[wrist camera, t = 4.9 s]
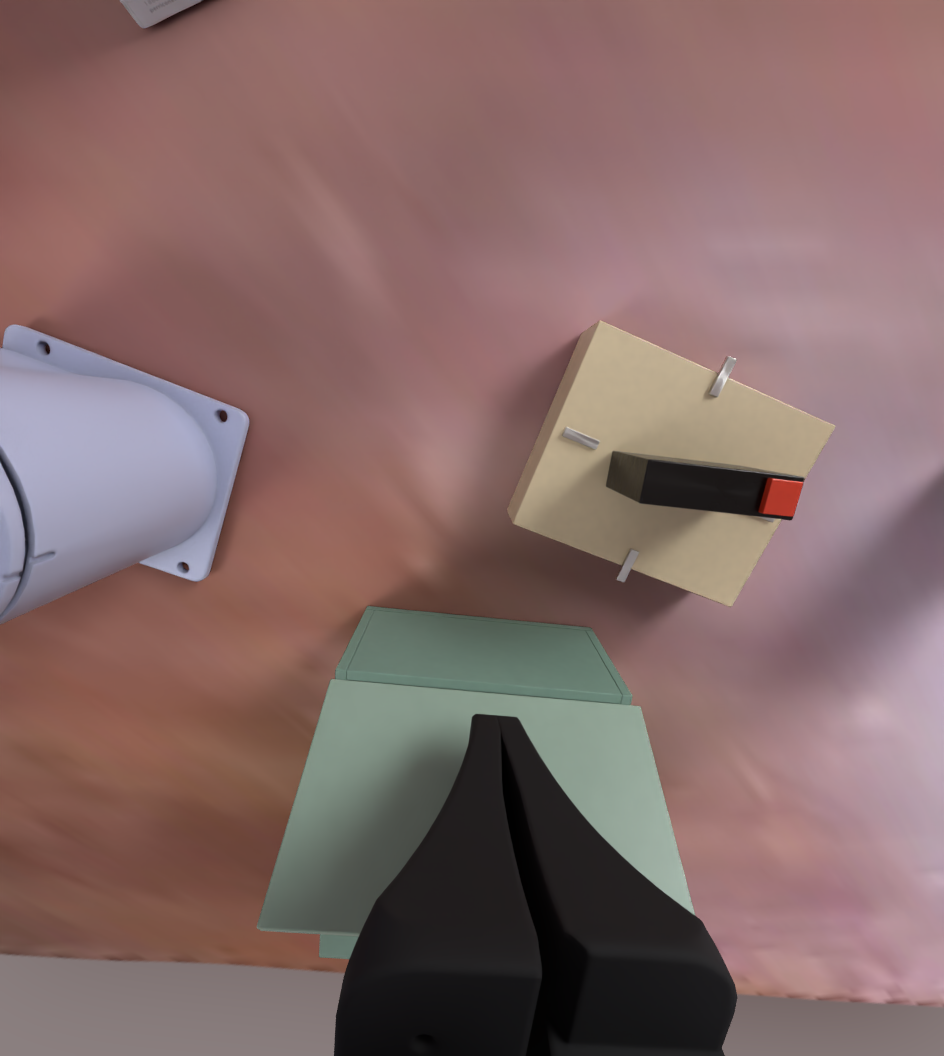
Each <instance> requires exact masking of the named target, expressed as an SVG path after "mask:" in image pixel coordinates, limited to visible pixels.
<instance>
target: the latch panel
mask: <svg viewBox="0 0 944 1056" xmlns="http://www.w3.org/2000/svg"><path fill="white" fill-rule="evenodd" d="M736 361H737V360H736V359H734V358H732V357H729V356H727V357H726V358H725V360H724V362H723V364H722V366H721V368H720V370H719V372H718V373H716V372H714V371H712V370H710V369H708V368H705V367H703V366H701V365H699V364H696V363H694V362H692V361H690V360H687V359H685V358H683V357H681V356H679V355H676V354H674V353H672V352H670V351H667V350H665V349H663V348H661V347H658V346H656V345H654V344H652V343H650V342H647V341H645V340H643V339H641V338H638V337H636V336H634V335H632V334H630V333H627V332H625V331H623V330H621V329H618V328H616V327H614V326H612V325H609V324H607V323H605V322H603V321H598V322H597V323H595V324H594V325H593V326H591V327H590V328H588V329H587V330H585V331H584V332H583V333H581V335H580V338H579V340H578V342H577V345H576V347H575V350H574V352H573V354H572V357H571V359H570V361H569V364H568V366H567V369H566V371H565V373H564V376H563V378H562V380H561V383H560V385H559V388H558V390H557V392H556V395H555V397H554V399H553V402H552V404H551V406H550V409H549V411H548V414H547V416H546V418H545V421H544V423H543V425H542V428H541V430H540V433H539V435H538V437H537V440H536V442H535V444H534V447H533V449H532V452H531V454H530V456H529V459H528V461H527V463H526V466H525V468H524V471H523V473H522V475H521V478H520V480H519V482H518V485H517V487H516V489H515V492H514V494H513V497H512V499H511V501H510V504H509V506H508V508H507V512H508V514H509V516H510V519H511V521H512V523H513V524H514V525H517V526H520V527H522V528H525V529H528V530H530V531H533V532H535V533H538V534H541V535H543V536H546V537H548V538H551V539H554V540H556V541H559V542H561V543H564V544H567V545H569V546H572V547H575V548H577V549H580V550H582V551H585V552H588V553H590V554H593V555H595V556H598V557H601V558H603V559H606V560H608V561H611V562H614V563H616V564H619V565H622V566H621V568H620V570H619V572H618V574H617V576H616V578H615V579H616V580H618V581H620V582H623V583H624V582H625V580H626V578H627V576H628V574H629V572H630V570H631V569H632V570H635V571H637V572H640V573H642V574H645V575H648V576H650V577H653V578H655V579H658V580H661V581H663V582H666V583H669V584H671V585H674V586H676V587H679V588H682V589H684V590H687V591H689V592H692V593H695V594H697V595H700V596H702V597H705V598H708V599H710V600H713V601H716V602H718V603H721V604H723V605H726V606H729V607H732V605H733V603H734V601H735V600H736V598H737V596H738V595H739V593H740V591H741V589H742V588H743V586H744V584H745V582H746V581H747V579H748V577H749V575H750V574H751V572H752V570H753V569H754V567H755V565H756V563H757V562H758V560H759V558H760V556H761V555H762V553H763V551H764V549H765V548H766V546H767V544H768V543H769V541H770V539H771V537H772V536H773V534H774V532H775V530H776V529H777V527H778V525H779V523H780V522H781V520H782V519H775V518H766V517H757V516H747V515H738V514H729V513H720V512H711V511H702V510H693V509H684V508H675V507H666V506H657V505H648V504H640V503H638V502H636V501H634V500H632V499H630V498H628V497H626V496H624V495H622V494H620V493H618V492H616V491H614V490H612V489H610V488H607V487H606V482H607V477H608V471H609V466H610V461H611V456H612V452H613V451H620V452H629V453H638V454H646V455H655V456H663V457H672V458H680V459H689V460H698V461H706V462H715V463H723V464H732V465H740V466H745V467H751V468H757V469H762V470H768V471H774V472H779V473H785V474H791V475H796V476H802V477H804V480H805V478H806V477H807V475H808V473H809V471H810V470H811V468H812V466H813V465H814V463H815V461H816V459H817V458H818V456H819V454H820V452H821V451H822V449H823V447H824V445H825V444H826V442H827V440H828V439H829V437H830V435H831V433H832V432H833V430H834V428H835V426H834V425H832V424H830V423H828V422H826V421H823V420H821V419H819V418H817V417H814V416H812V415H810V414H808V413H806V412H803V411H801V410H799V409H797V408H794V407H792V406H790V405H788V404H786V403H783V402H781V401H779V400H777V399H774V398H772V397H770V396H768V395H765V394H763V393H761V392H759V391H757V390H754V389H752V388H750V387H748V386H745V385H743V384H741V383H739V382H736V381H734V380H732V379H730V378H728V377H729V375H730V373H731V371H732V369H733V367H734V365H735V363H736Z"/></svg>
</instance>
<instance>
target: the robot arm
mask: <svg viewBox="0 0 944 1056" xmlns="http://www.w3.org/2000/svg"><path fill="white" fill-rule="evenodd" d="M47 344H48V345H49V347H50V353H49V354H48V353H47V352H46V348H45V347H46V345H47ZM222 410H224V411H225V412H226V414H227V420H226V422H223V421H222V420H221V419H220V412H221V411H222ZM248 428H249V418H248V415H247V414H246V413H245V412H244V411H242V410H241V409H239V408H236V407H233V406H231V405H228V404H226V403H223V402H220V401H218V400H215V399H213V398H210V397H207V396H205V395H202V394H200V393H197V392H194V391H192V390H189V389H187V388H184V387H181V386H179V385H176V384H174V383H171V382H168V381H166V380H163V379H161V378H158V377H156V376H153V375H150V374H148V373H145V372H143V371H140V370H137V369H135V368H132V367H130V366H127V365H124V364H122V363H119V362H117V361H114V360H111V359H109V358H106V357H104V356H101V355H98V354H96V353H93V352H91V351H88V350H85V349H83V348H80V347H78V346H75V345H73V344H70V343H67V342H65V341H62V340H60V339H57V338H54V337H52V336H49V335H47V334H44V333H41V332H39V331H36V330H34V329H31V328H28V327H25V326H20V325H15V324H14V325H10V326H8V327H7V328H6V330H5V333H4V339H3V347H2V348H0V625H1V624H3V623H5V622H7V621H9V620H12V619H14V618H16V617H18V616H20V615H23V614H25V613H27V612H29V611H32V610H34V609H36V608H38V607H40V606H43V605H45V604H47V603H49V602H52V601H54V600H56V599H58V598H60V597H63V596H65V595H67V594H69V593H72V592H74V591H76V590H78V589H80V588H83V587H85V586H87V585H89V584H92V583H94V582H96V581H98V580H100V579H103V578H105V577H107V576H109V575H112V574H114V573H116V572H118V571H120V570H123V569H125V568H127V567H129V566H132V565H134V564H136V563H141V564H144V565H147V566H150V567H153V568H156V569H159V570H162V571H164V572H167V573H170V574H173V575H176V576H179V577H182V578H185V579H188V580H191V581H196V582H197V581H201V580H203V579H205V578H206V577H207V576H208V575H209V573H210V570H211V566H212V562H213V559H214V555H215V551H216V547H217V544H218V540H219V536H220V532H221V529H222V525H223V521H224V517H225V514H226V510H227V506H228V502H229V499H230V495H231V491H232V488H233V484H234V480H235V476H236V473H237V469H238V465H239V461H240V458H241V454H242V450H243V446H244V443H245V439H246V435H247V431H248ZM183 562H185V563H186V564H188V566H189V570H186V569H185V568H184V567H183V564H182V563H183ZM736 1001H737V993H736V988H735V984H734V982H733V980H732V978H731V975H730V973H729V971H728V969H727V967H726V965H725V963H724V961H723V959H722V957H721V955H720V953H719V951H718V949H717V947H716V945H715V943H714V942H713V940H712V938H711V937H710V935H709V933H708V931H707V930H706V928H705V926H704V924H703V922H702V921H701V920H700V919H699V918H698V917H696V916H695V915H694V914H692V913H691V912H690V911H688V910H687V909H686V908H684V907H683V906H682V905H680V904H679V903H678V902H676V901H675V900H674V899H672V898H671V897H670V896H668V895H667V894H666V893H664V892H663V891H662V890H660V889H659V888H658V887H657V886H655V885H654V884H653V883H652V882H651V881H650V880H648V879H647V878H646V877H645V876H644V875H643V874H641V873H640V872H639V871H638V870H637V869H636V868H634V867H633V866H632V865H631V864H630V863H629V862H628V861H627V860H626V859H625V858H624V857H622V856H621V855H620V854H619V853H618V852H617V851H616V850H615V849H614V848H613V847H612V846H611V845H610V844H609V843H608V842H607V841H606V840H605V839H604V838H603V837H602V836H601V835H600V834H599V833H598V832H597V830H596V829H595V828H594V827H593V826H592V825H591V824H590V823H589V822H588V820H587V819H586V818H585V817H584V816H583V815H582V813H581V812H580V811H579V810H578V809H577V807H576V806H575V805H574V804H573V802H572V801H571V800H570V798H569V797H568V796H567V794H566V793H565V792H564V790H563V789H562V788H561V786H560V785H559V784H558V782H557V781H556V779H555V778H554V776H553V775H552V773H551V772H550V770H549V769H548V767H547V766H546V764H545V763H544V761H543V760H542V758H541V757H540V755H539V753H538V752H537V750H536V748H535V747H534V745H533V743H532V742H531V740H530V738H529V736H528V735H527V733H526V731H525V729H524V727H523V725H522V724H521V722H520V720H519V719H518V718H517V717H511V716H499V715H487V714H475V715H474V716H472V720H471V727H470V735H469V743H468V747H467V750H466V753H465V756H464V759H463V762H462V765H461V768H460V770H459V772H458V775H457V777H456V779H455V782H454V784H453V787H452V789H451V791H450V793H449V795H448V797H447V799H446V801H445V803H444V805H443V807H442V809H441V810H440V812H439V814H438V816H437V818H436V819H435V821H434V823H433V824H432V826H431V828H430V829H429V831H428V833H427V834H426V836H425V837H424V839H423V840H422V842H421V843H420V845H419V846H418V848H417V849H416V850H415V852H414V853H413V855H412V856H411V857H410V859H409V860H408V862H407V863H406V864H405V866H404V867H403V868H402V870H401V871H400V872H399V874H398V875H397V876H396V877H395V878H394V880H393V881H392V882H391V883H390V884H389V885H388V887H387V888H386V889H385V890H384V891H383V892H382V894H381V895H380V896H379V897H378V898H377V900H376V901H375V903H374V905H373V907H372V909H371V912H370V914H369V916H368V918H367V920H366V922H365V924H364V926H363V928H362V930H361V932H360V935H359V937H358V939H357V941H356V944H355V946H354V949H353V951H352V954H351V956H350V959H349V962H348V965H347V968H346V972H345V975H344V979H343V983H342V989H341V994H340V999H339V1004H338V1010H337V1014H336V1028H335V1048H334V1056H725V1055H724V1053H723V1050H722V1045H723V1043H724V1040H725V1037H726V1034H727V1032H728V1029H729V1026H730V1023H731V1021H732V1018H733V1015H734V1012H735V1007H736Z"/></svg>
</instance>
